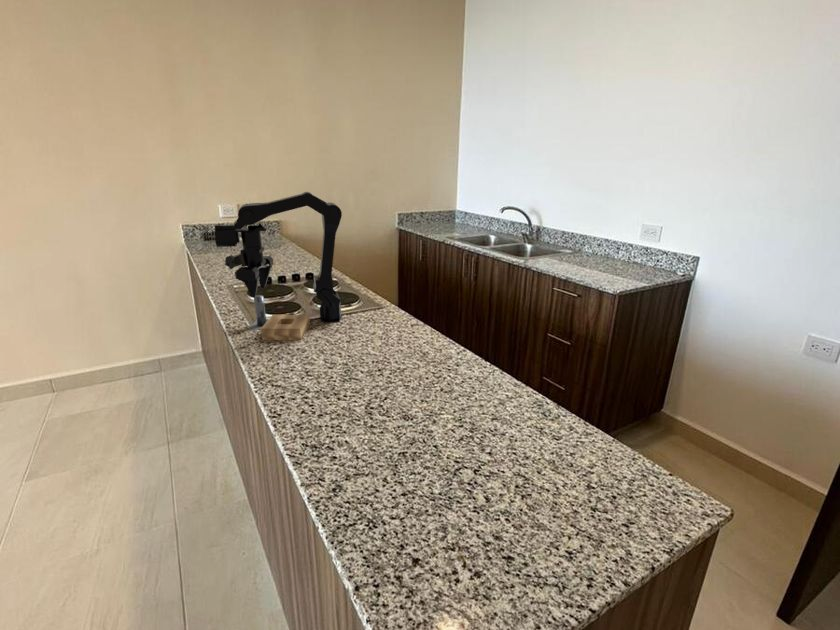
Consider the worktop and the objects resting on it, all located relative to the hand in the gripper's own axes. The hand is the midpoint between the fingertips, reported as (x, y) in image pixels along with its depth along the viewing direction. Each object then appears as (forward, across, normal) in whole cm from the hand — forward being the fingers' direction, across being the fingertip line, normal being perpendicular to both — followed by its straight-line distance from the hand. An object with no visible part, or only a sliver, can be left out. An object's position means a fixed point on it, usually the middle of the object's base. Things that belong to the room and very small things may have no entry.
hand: (258, 292), depth 151 cm
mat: (+12, 0, 0) cm, 12 cm away
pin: (+11, 0, 0) cm, 11 cm away
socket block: (+12, +6, +10) cm, 16 cm away
